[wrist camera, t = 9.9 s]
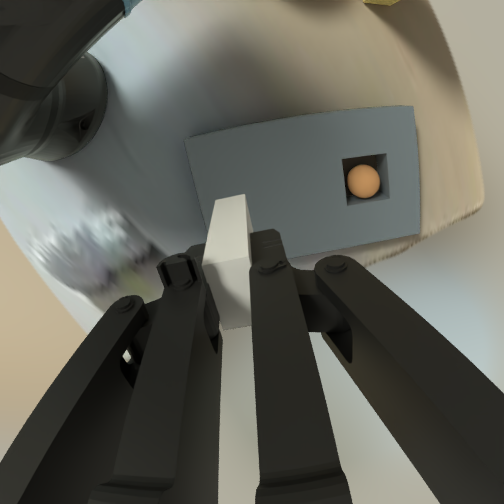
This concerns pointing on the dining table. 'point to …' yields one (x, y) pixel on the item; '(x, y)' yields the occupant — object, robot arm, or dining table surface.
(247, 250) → the robot arm
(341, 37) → the dining table surface
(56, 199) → the dining table surface
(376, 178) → the ball
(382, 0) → the candy box
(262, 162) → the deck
